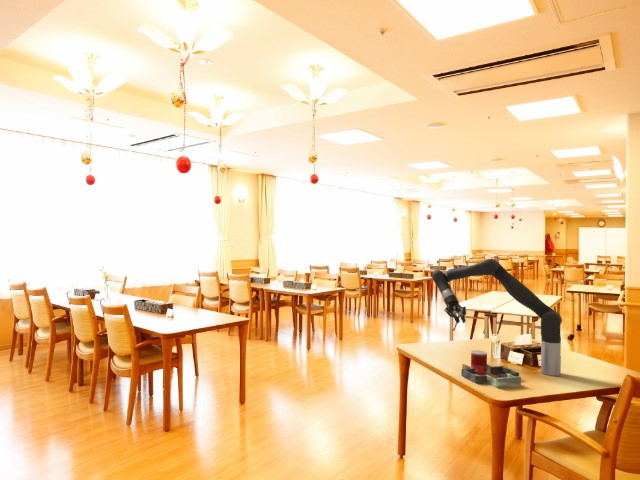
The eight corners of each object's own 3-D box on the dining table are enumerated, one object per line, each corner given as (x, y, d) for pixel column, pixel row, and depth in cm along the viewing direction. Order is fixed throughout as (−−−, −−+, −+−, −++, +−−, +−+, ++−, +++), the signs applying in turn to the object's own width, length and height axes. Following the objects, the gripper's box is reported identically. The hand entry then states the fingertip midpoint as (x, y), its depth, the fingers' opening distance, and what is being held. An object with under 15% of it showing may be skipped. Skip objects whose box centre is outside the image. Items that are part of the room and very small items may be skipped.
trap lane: (452, 371, 228) (452, 363, 228) (492, 368, 235) (492, 359, 235) (487, 389, 201) (487, 380, 201) (530, 385, 208) (530, 375, 208)
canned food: (487, 375, 222) (488, 354, 222) (472, 374, 224) (472, 353, 224) (485, 371, 230) (485, 350, 230) (469, 369, 231) (470, 349, 231)
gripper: (441, 294, 249) (453, 319, 238) (462, 294, 253) (475, 318, 242) (436, 302, 254) (448, 326, 243) (457, 301, 258) (469, 325, 247)
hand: (461, 322), depth 242 cm, fingers open, 3 cm apart
